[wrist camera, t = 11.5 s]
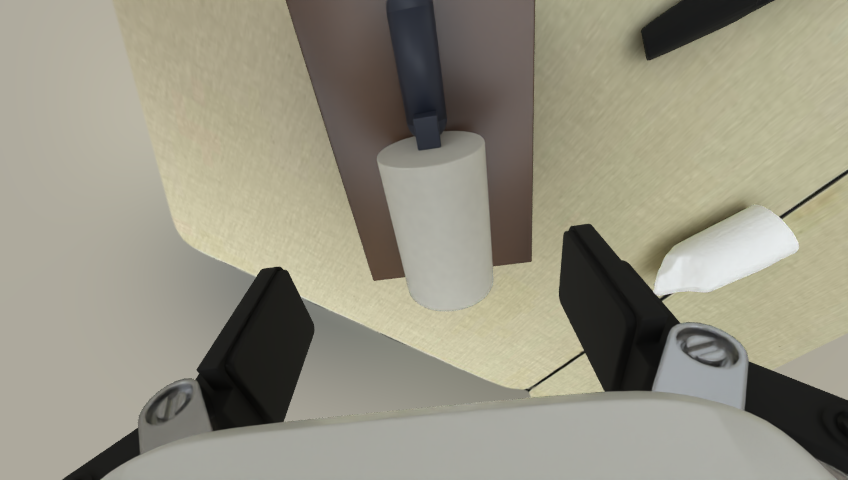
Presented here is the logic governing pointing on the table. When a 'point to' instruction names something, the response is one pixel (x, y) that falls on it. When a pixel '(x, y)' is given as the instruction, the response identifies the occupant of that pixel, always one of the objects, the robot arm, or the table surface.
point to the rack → (464, 98)
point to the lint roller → (434, 176)
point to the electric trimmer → (693, 22)
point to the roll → (726, 252)
